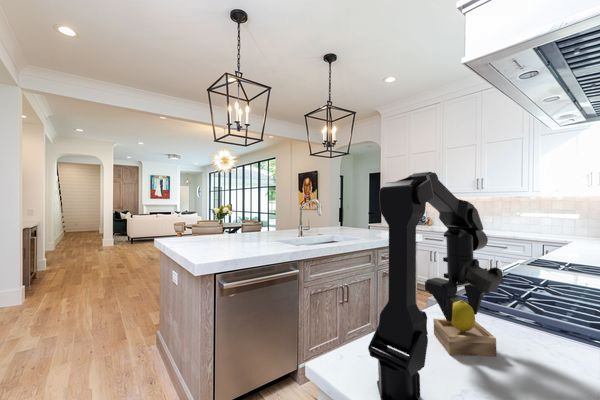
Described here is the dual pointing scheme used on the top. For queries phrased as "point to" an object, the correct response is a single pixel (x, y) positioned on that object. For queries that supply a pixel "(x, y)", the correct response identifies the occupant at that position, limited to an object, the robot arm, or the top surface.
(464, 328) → the lemon
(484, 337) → the tan open box
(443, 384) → the top surface
